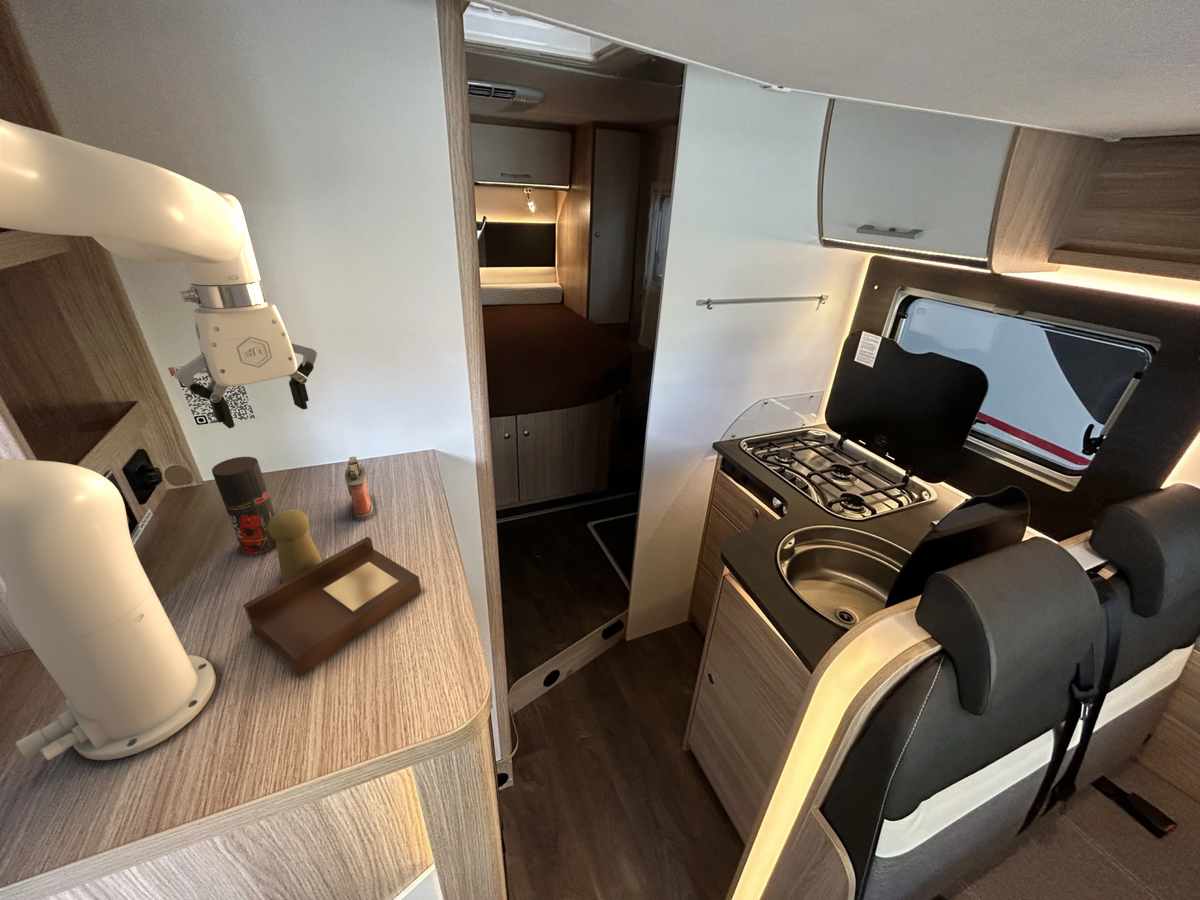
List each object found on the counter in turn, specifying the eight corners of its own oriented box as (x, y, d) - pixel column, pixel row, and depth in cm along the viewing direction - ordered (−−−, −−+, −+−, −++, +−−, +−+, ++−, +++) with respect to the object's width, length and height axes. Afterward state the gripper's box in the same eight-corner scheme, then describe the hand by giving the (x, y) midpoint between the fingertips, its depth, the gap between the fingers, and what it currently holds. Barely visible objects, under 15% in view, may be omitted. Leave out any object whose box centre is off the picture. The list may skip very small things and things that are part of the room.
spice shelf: (301, 676, 61) (290, 647, 59) (253, 632, 67) (242, 604, 65) (421, 591, 75) (416, 565, 72) (373, 561, 81) (367, 536, 78)
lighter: (352, 499, 96) (341, 453, 92) (371, 495, 98) (361, 450, 93) (353, 521, 90) (342, 473, 85) (374, 517, 91) (363, 470, 87)
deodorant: (290, 533, 86) (266, 458, 79) (266, 555, 81) (238, 476, 74) (258, 531, 87) (231, 455, 80) (232, 552, 81) (201, 473, 74)
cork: (307, 590, 74) (287, 530, 69) (272, 583, 75) (250, 524, 70) (334, 564, 80) (318, 506, 75) (301, 558, 81) (283, 501, 76)
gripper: (156, 308, 57) (204, 441, 65) (312, 293, 69) (337, 406, 77) (140, 300, 62) (187, 425, 69) (290, 286, 74) (316, 395, 81)
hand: (266, 415), depth 73 cm, fingers open, 9 cm apart
